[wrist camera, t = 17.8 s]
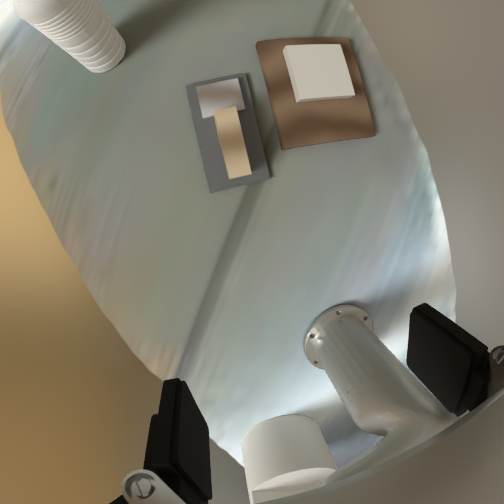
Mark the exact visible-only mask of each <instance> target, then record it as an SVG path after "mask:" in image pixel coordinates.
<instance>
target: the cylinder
mask: <svg viewBox="0 0 504 504" xmlns="http://www.w3.org/2000/svg"><path fill="white" fill-rule="evenodd" d="M241 448H242V454H243V461H244V467H245V473H246V480H247V486H248V492H249V498H250V503H251V504H256V503H261V502H265V501H270V500H274V499H278V498H283V497H287V496H291V495H295V494H298V493H302V492H305V491H309V490H312V489H316V488H319V487H322V484H323V482H324V481H325V480H326V478H327V477H328V476H329V475H331V474H332V473H333V472H335V471H336V470H338V469H337V467H336V464H335V462H334V460H333V457H332V455H331V453H330V451H329V448H328V446H327V444H326V441H325V439H324V437H323V434H322V432H321V430H320V427H319V425H318V423H317V422H316V421H314V420H313V419H311V418H309V417H306V416H300V415H285V416H280V417H274V418H271V419H268V420H265V421H263V422H261V423H259V424H257V425H255V426H254V427H252V428H251V429H250V430H249V431H247V432H246V434H245V435H244V436H243V438H242V441H241Z"/></svg>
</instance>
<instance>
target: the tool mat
mask: <svg viewBox="0 0 504 504" xmlns="http://www.w3.org/2000/svg"><path fill="white" fill-rule="evenodd" d="M236 78H238V81H239V85H240V89H241V93H242V97H243V101H244V106H245V110H243V111H238V112H237V113H238V117H239V121H240V125H241V130H242V134H243V138H244V142H245V147H246V151H247V155H248V160H249V164H250V168H251V173H252V174H250V175H245V176H241V177H237V178H233V179H229V178H228V174H227V170H226V166H225V161H224V157H223V153H222V149H221V144H220V140H219V136H218V132H217V127H216V123H215V119H214V117H210V118H206V119H203V117H202V113H201V108H200V104H199V99H198V95H197V90H196V87H197V86H202V85H206V84H210V83H215V82H220V81H225V80H230V79H236ZM186 89H187V94H188V98H189V103H190V107H191V112H192V116H193V121H194V125H195V130H196V134H197V138H198V143H199V147H200V151H201V156H202V160H203V164H204V168H205V172H206V177H207V181H208V185H209V189H210V193H212V192H216V191H220V190H224V189H229V188H233V187H237V186H241V185H245V184H250V183H254V182H259V181H263V180H268V179H270V176H269V171H268V166H267V162H266V158H265V153H264V149H263V144H262V140H261V136H260V131H259V127H258V123H257V119H256V114H255V110H254V106H253V102H252V98H251V94H250V90H249V86H248V82H247V78H246V74H240V75H235V76H229V77H224V78H219V79H214V80H209V81H205V82H200V83H196V84H192V85H188V86H186Z"/></svg>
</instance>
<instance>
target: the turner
mask: <svg viewBox="0 0 504 504" xmlns="http://www.w3.org/2000/svg"><path fill="white" fill-rule="evenodd" d="M196 90H197V95H198V99H199V104H200V108H201V113H202V117H203V119H206V118H210V117H214V119H215V123H216V127H217V132H218V136H219V140H220V144H221V149H222V153H223V157H224V161H225V166H226V170H227V174H228V178H229V179H233V178H237V177H241V176H245V175H250V174H252V173H251V168H250V164H249V160H248V155H247V151H246V147H245V142H244V138H243V134H242V130H241V125H240V121H239V117H238V113H237V112H238V111H243V110H245V106H244V101H243V97H242V93H241V89H240V85H239V81H238V78H236V79H230V80H225V81H220V82H215V83H210V84H206V85H202V86H197V87H196Z"/></svg>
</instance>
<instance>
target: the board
mask: <svg viewBox="0 0 504 504" xmlns="http://www.w3.org/2000/svg"><path fill="white" fill-rule="evenodd" d="M308 44H340V45H341V48H342V51H343V54H344V57H345V61H346V64H347V67H348V71H349V74H350V78H351V81H352V85H353V89H354V93H355V96H353V97H350V98H340V99H327V100H316V101H306V102H297V103H296V99H295V95H294V91H293V87H292V83H291V79H290V76H289V72H288V68H287V65H286V61H285V57H284V54H283V49H284V48H285V46H288V45H308ZM256 49H257V53H258V56H259V60H260V64H261V67H262V71H263V75H264V79H265V83H266V86H267V90H268V94H269V98H270V102H271V106H272V110H273V115H274V119H275V123H276V127H277V131H278V136H279V140H280V145H281V149H282V150H285V149H290V148H296V147H302V146H308V145H314V144H320V143H327V142H334V141H341V140H349V139H357V138H366V137H373V136H375V132H374V128H373V123H372V119H371V114H370V110H369V106H368V102H367V98H366V94H365V90H364V87H363V83H362V79H361V76H360V72H359V69H358V66H357V62H356V59H355V56H354V53H353V50H352V47H351V44H350V41H349V38H292V39H277V40H266V41H257V43H256Z"/></svg>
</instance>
